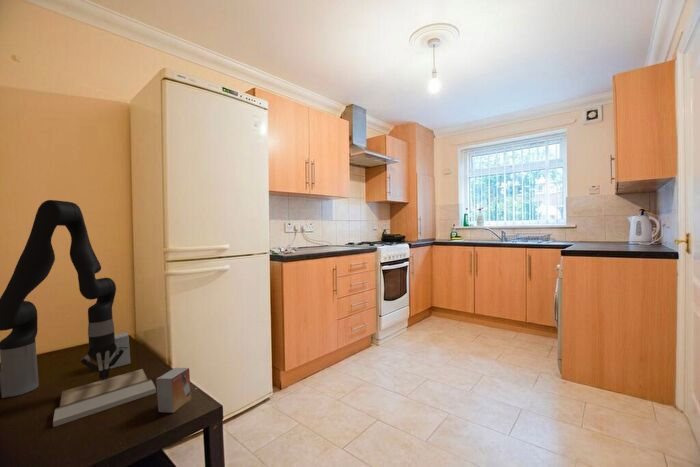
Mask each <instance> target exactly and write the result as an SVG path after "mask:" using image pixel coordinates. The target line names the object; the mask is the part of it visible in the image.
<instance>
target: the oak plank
mask: <svg viewBox="0 0 700 467" xmlns="http://www.w3.org/2000/svg"><path fill="white" fill-rule="evenodd" d="M147 380H149V379H148V377H147V374H145V371H144V369H143V368H141V369H136V370H133V371H130V372H127V373H123V374H119V375H116V376H112V377H110V378H109V377H107V379H104V380H102V379H100V380H98V381H94V382H91V383H87V384H84V385H80V386H77V387H74V388H70V389H67V390H63V391H61V397H60V403H59V407H62V406H65V405H68V404H72V403H75V402H78V401H81V400H85V399H88V398H91V397H94V396H98V395H101V394H104V393H108V392H111V391H114V390H117V389H121V388H124V387H127V386H130V385H134V384H137V383H140V382H143V381H147Z"/></svg>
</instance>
